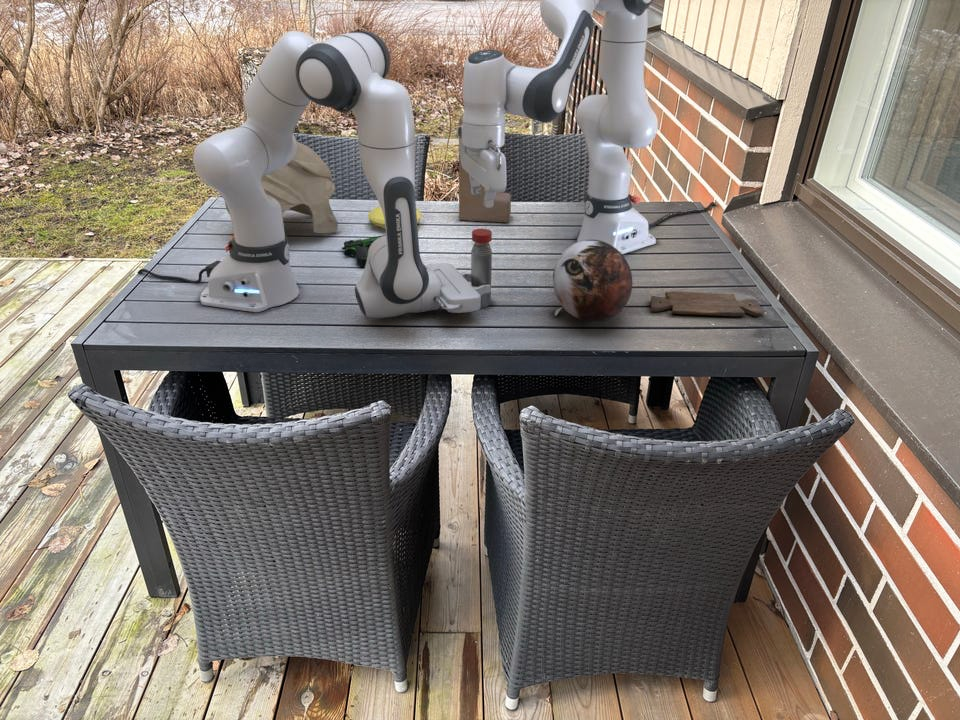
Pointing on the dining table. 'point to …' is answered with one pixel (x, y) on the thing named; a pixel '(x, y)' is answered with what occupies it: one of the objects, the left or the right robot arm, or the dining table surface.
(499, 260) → the dining table surface
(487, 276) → the bottle
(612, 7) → the right robot arm
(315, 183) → the helmet
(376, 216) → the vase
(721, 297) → the wooden paddle board
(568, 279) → the plush toy
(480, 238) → the cap
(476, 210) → the decorative block
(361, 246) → the handgun
